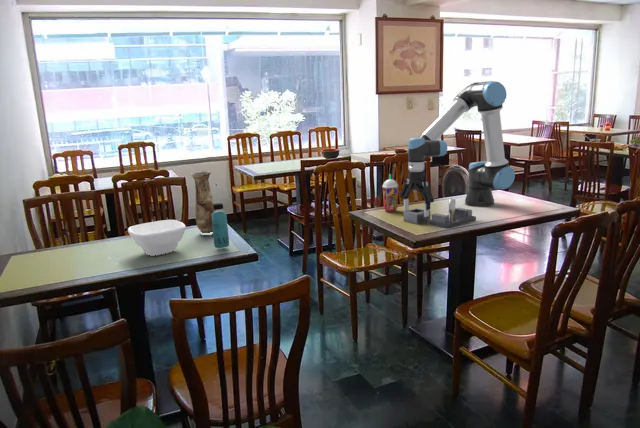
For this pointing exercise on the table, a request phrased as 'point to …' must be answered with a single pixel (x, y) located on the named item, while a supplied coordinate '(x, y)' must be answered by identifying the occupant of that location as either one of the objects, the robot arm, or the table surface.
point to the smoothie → (390, 195)
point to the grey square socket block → (415, 216)
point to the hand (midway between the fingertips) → (416, 214)
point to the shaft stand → (452, 217)
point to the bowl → (158, 236)
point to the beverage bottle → (220, 227)
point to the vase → (203, 201)
